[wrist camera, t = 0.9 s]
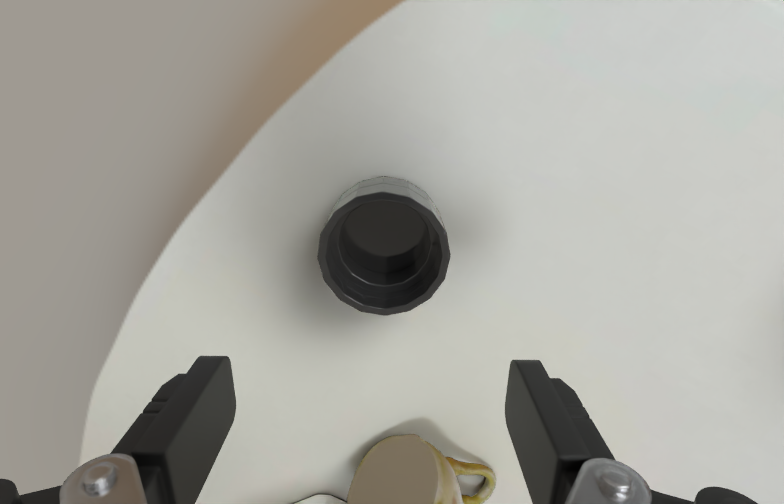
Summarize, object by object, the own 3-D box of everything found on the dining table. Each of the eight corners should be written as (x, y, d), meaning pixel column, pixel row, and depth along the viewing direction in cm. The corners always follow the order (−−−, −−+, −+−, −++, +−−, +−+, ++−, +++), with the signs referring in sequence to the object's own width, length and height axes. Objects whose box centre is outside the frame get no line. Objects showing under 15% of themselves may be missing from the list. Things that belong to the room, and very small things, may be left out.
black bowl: (337, 165, 24) (327, 181, 20) (451, 186, 25) (463, 205, 21) (323, 271, 27) (311, 303, 23) (427, 288, 27) (433, 323, 23)
